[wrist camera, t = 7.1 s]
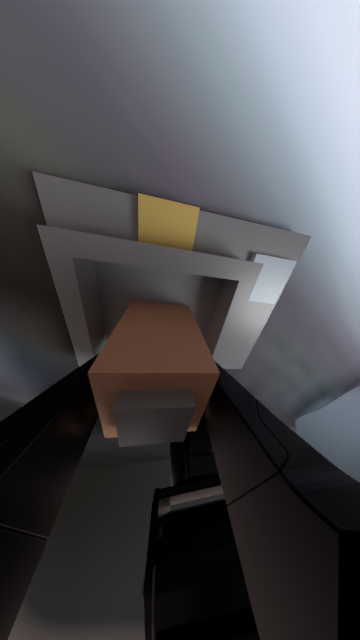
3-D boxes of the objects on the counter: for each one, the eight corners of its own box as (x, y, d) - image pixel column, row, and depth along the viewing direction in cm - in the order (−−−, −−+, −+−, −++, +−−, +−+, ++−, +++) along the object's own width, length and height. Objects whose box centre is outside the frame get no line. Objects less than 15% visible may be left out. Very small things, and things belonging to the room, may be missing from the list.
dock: (236, 361, 15) (252, 386, 12) (90, 358, 12) (70, 388, 9) (296, 237, 9) (352, 232, 6) (49, 181, 6) (-28, 135, 4)
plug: (180, 347, 11) (198, 447, 6) (133, 345, 11) (98, 457, 5) (188, 305, 10) (228, 390, 4) (132, 300, 9) (74, 393, 3)
